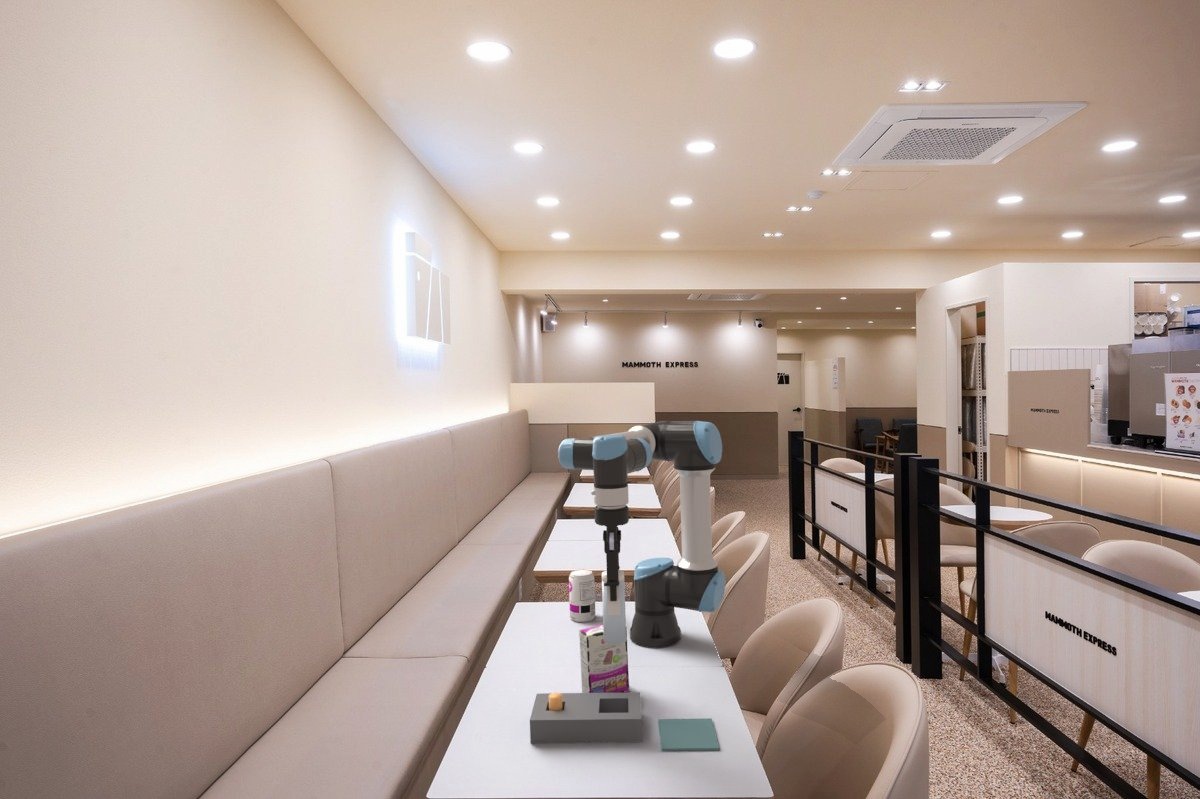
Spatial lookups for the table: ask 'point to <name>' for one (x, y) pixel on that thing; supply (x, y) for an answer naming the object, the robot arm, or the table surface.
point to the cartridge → (614, 623)
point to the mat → (687, 735)
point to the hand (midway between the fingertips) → (614, 609)
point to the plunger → (555, 702)
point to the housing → (587, 718)
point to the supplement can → (582, 595)
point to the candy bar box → (602, 663)
